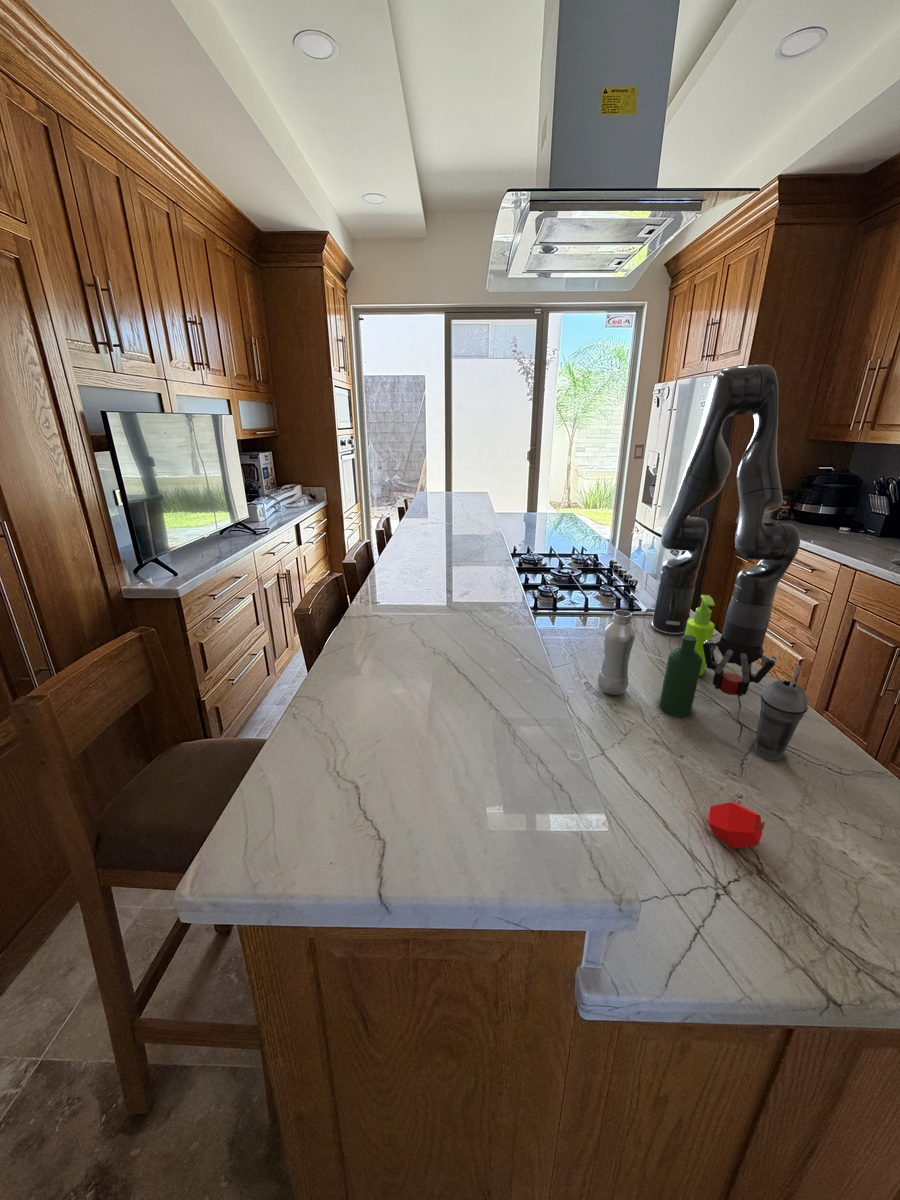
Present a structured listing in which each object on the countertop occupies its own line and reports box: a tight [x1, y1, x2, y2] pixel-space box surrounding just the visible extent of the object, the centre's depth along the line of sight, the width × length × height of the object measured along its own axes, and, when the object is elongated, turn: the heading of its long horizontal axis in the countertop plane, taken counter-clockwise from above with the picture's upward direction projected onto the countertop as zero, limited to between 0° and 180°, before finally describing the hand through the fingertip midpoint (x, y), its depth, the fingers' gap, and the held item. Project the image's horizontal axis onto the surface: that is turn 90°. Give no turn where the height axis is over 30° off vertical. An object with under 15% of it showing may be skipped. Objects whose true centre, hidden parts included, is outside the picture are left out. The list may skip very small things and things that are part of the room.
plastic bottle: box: [597, 609, 636, 696], centre depth 109 cm, size 6×7×20 cm
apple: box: [707, 801, 766, 850], centre depth 74 cm, size 7×7×8 cm
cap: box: [718, 671, 743, 696], centre depth 105 cm, size 4×4×3 cm
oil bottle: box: [658, 634, 702, 718], centre depth 103 cm, size 6×6×18 cm
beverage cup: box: [754, 664, 809, 761], centre depth 89 cm, size 7×7×20 cm
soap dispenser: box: [684, 594, 716, 677], centre depth 117 cm, size 6×7×20 cm
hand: (728, 690), depth 105 cm, fingers closed on cap, 4 cm apart
